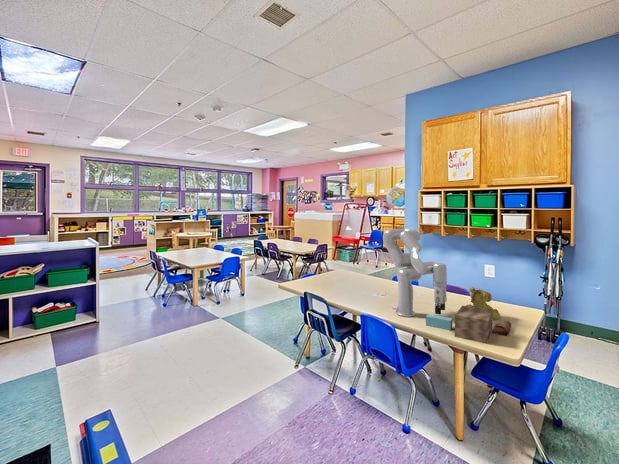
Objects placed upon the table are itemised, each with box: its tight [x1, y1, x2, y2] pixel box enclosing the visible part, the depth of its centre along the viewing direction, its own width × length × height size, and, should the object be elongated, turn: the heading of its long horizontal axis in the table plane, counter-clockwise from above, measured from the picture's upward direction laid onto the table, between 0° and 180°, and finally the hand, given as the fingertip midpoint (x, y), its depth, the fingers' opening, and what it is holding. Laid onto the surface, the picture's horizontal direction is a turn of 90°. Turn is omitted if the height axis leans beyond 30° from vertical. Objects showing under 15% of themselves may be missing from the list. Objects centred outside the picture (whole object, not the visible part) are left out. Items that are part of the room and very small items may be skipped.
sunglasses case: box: [491, 320, 512, 337], centre depth 178 cm, size 18×7×7 cm
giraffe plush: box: [465, 286, 501, 320], centre depth 199 cm, size 20×24×19 cm
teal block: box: [425, 313, 453, 331], centre depth 183 cm, size 14×5×6 cm, turn 54°
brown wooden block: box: [454, 305, 494, 345], centre depth 172 cm, size 16×20×12 cm
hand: (440, 311), depth 182 cm, fingers open, 9 cm apart
